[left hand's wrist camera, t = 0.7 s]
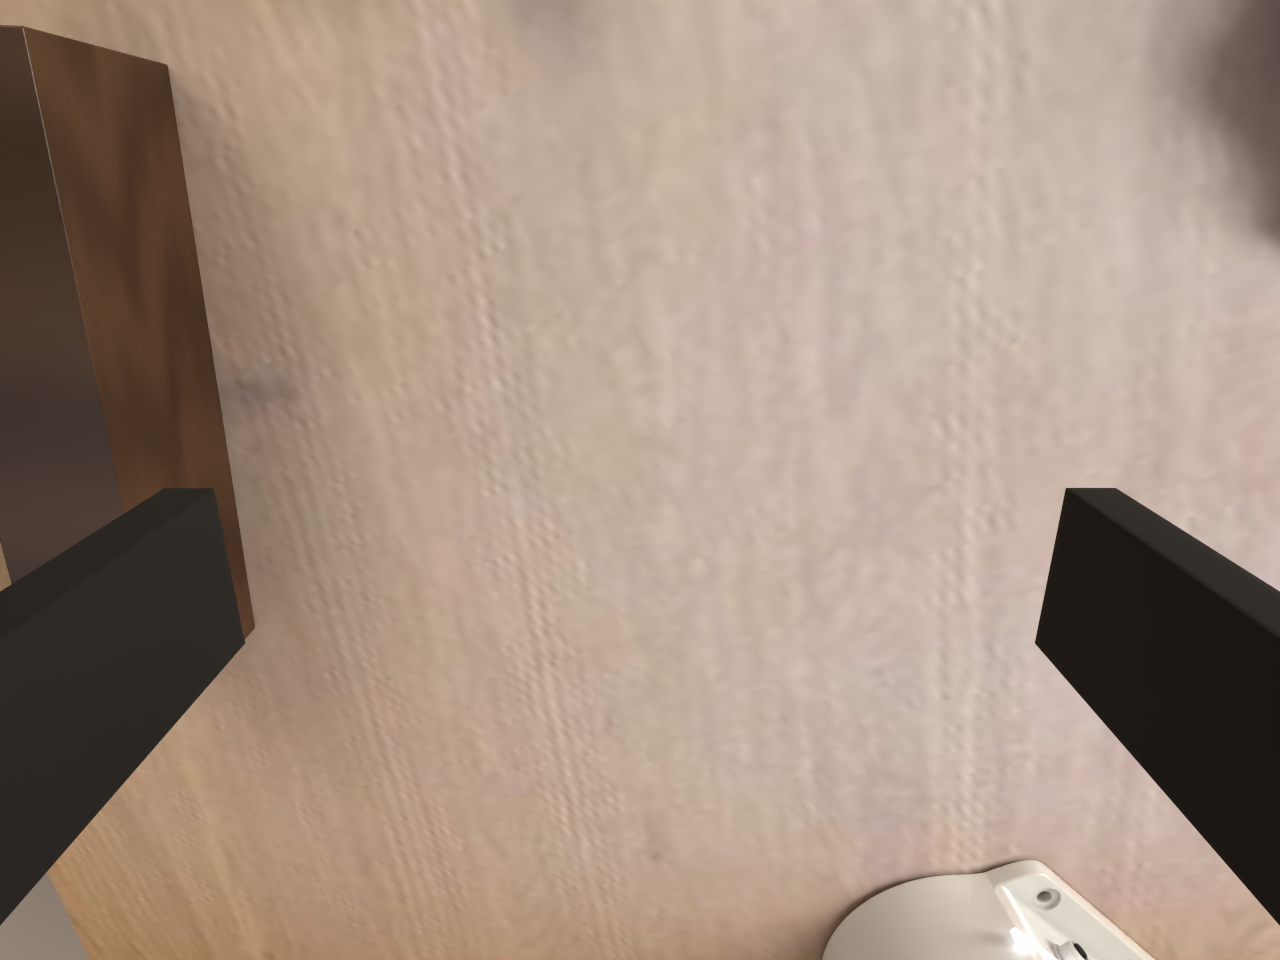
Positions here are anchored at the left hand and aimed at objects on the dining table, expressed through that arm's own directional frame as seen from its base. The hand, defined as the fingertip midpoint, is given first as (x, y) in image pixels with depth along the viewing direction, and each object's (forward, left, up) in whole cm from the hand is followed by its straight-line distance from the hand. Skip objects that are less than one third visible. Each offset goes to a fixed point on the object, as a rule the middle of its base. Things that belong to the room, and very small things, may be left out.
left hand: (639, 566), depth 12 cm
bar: (+3, -22, -25) cm, 33 cm away
